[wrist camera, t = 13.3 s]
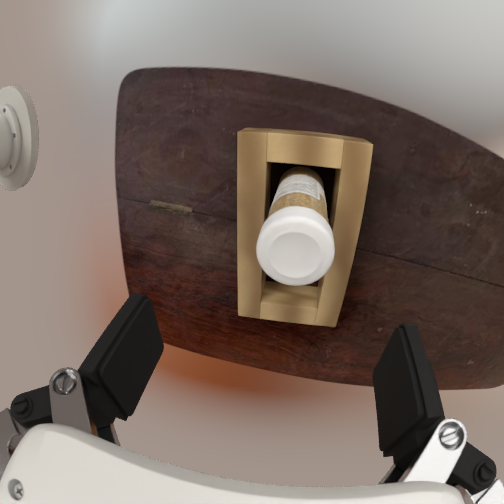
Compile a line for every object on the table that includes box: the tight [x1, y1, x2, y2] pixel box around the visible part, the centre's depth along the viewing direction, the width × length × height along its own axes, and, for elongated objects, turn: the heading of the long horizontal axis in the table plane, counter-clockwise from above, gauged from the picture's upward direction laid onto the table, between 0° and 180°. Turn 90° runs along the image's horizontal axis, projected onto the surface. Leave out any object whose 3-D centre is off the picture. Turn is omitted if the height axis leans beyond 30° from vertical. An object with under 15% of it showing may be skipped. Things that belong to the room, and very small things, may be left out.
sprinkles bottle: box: [256, 166, 335, 286], centre depth 21 cm, size 5×5×13 cm
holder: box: [237, 128, 373, 327], centre depth 28 cm, size 11×20×4 cm, turn 179°
